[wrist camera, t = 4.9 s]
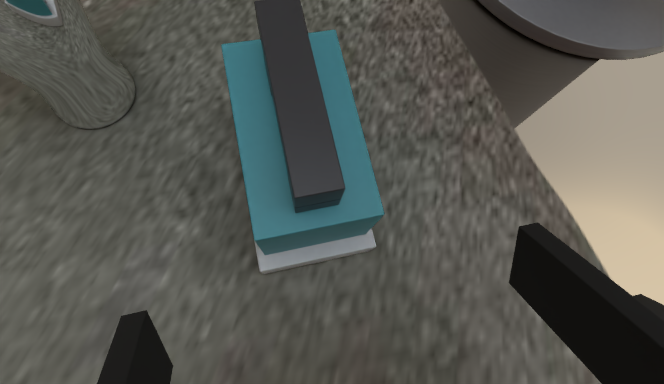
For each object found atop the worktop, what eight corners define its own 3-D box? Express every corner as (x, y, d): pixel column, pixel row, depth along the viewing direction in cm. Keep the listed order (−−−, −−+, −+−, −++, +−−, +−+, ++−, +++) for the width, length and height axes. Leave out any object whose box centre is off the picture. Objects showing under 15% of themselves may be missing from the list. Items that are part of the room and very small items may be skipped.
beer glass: (150, 121, 29) (4, -58, 15) (54, 145, 28) (-207, -22, 14) (132, 47, 31) (-14, -178, 16) (41, 67, 30) (-203, -156, 15)
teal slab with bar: (371, 250, 28) (415, 218, 17) (262, 274, 26) (238, 255, 16) (319, 45, 32) (329, -80, 22) (225, 58, 31) (187, -67, 21)
